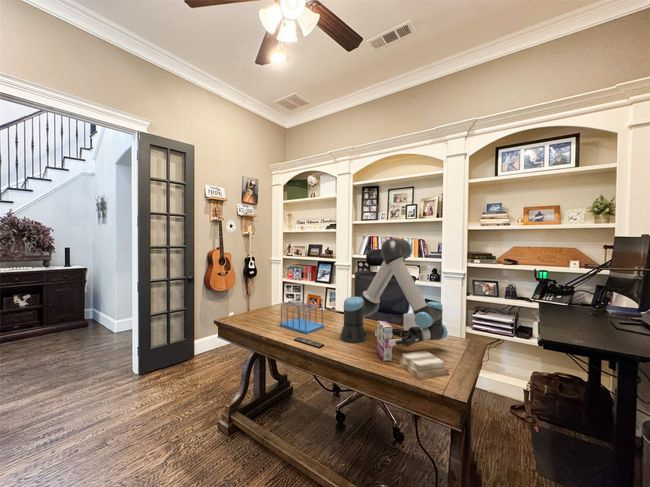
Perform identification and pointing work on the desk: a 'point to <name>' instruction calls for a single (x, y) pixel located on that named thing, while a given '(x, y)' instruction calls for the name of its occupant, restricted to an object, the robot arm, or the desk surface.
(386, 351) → the candy bar box
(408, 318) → the mug
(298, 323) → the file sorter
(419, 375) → the plinth
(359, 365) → the desk surface
